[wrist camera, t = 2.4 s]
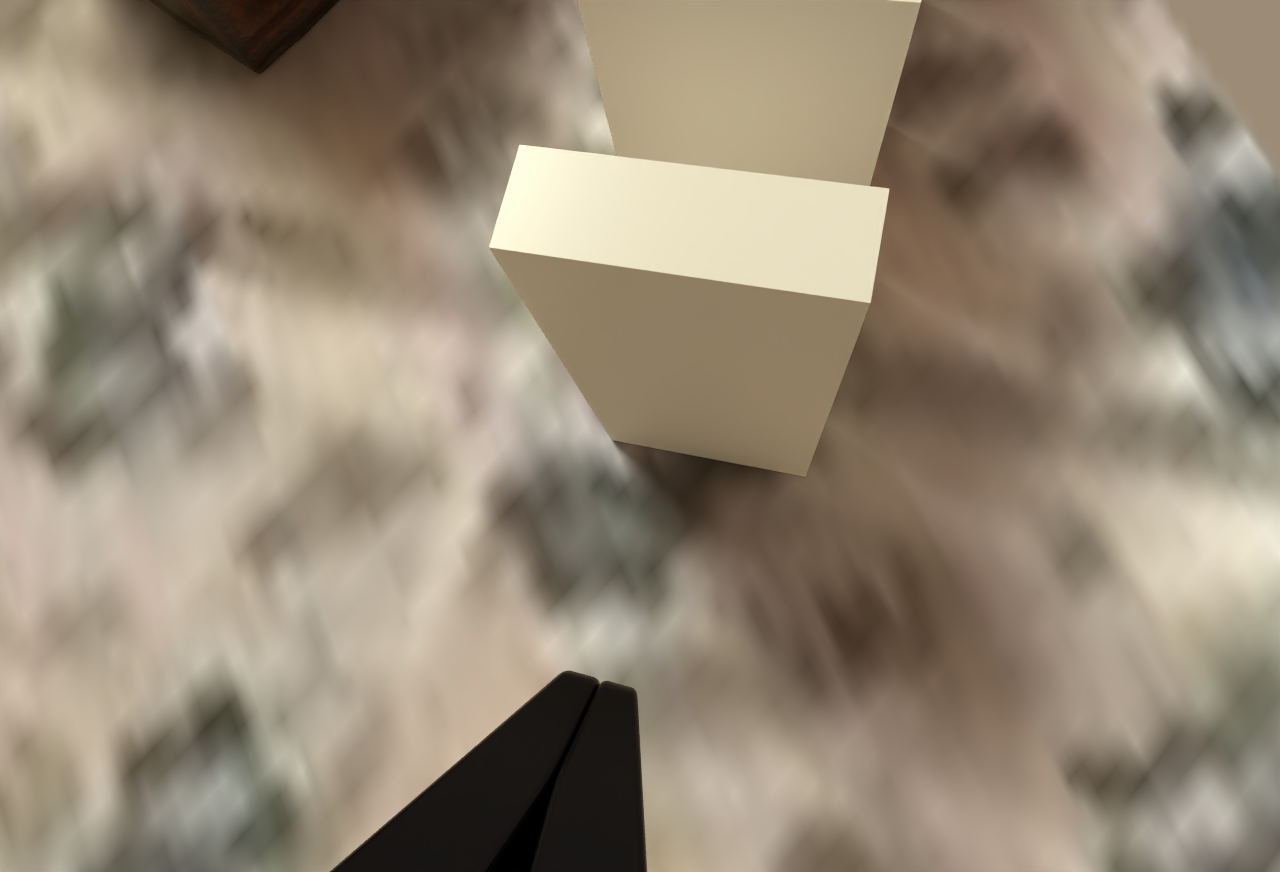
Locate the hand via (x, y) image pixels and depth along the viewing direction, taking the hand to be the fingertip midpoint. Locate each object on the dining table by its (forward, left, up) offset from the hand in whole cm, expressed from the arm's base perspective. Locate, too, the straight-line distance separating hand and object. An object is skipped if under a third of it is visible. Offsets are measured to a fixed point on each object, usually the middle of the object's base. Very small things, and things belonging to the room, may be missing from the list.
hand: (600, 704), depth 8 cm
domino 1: (+11, 0, -10) cm, 15 cm away
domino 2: (+6, 0, -10) cm, 12 cm away
